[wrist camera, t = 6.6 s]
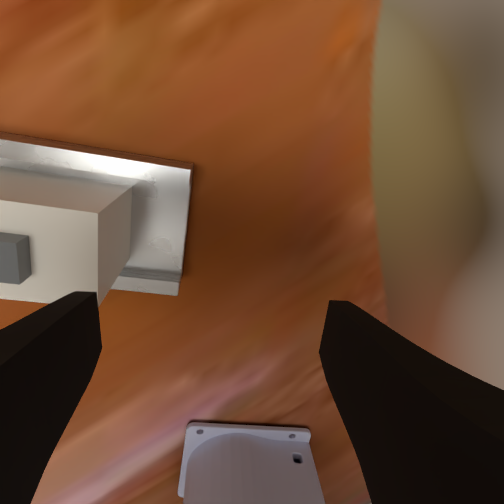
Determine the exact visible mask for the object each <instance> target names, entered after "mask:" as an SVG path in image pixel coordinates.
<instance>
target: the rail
mask: <svg viewBox="0 0 504 504" xmlns="http://www.w3.org/2000/svg"><path fill="white" fill-rule="evenodd" d="M0 166H3V167H10V168H16V169H23V170H30V171H36V172H43V173H50V174H56V175H63V176H70V177H76V178H83V179H89V180H96V181H103V182H109V183H116V184H123V185H129V186H132V207H131V232H130V257H129V260H128V262H127V263H126V265H125V266H124V268H123V270H122V271H121V273H120V274H119V276H118V277H117V279H116V280H115V282H114V284H113V285H112V287H111V288H110V289H118V290H128V291H137V292H147V293H156V294H166V295H175V296H178V292H179V288H180V283H181V279H182V272H183V263H184V254H185V244H186V235H187V225H188V216H189V207H190V197H191V188H192V178H193V169H194V163H188V162H182V161H176V160H169V159H163V158H157V157H151V156H145V155H139V154H133V153H127V152H121V151H115V150H109V149H102V148H96V147H90V146H84V145H78V144H72V143H66V142H60V141H54V140H48V139H42V138H35V137H29V136H23V135H17V134H11V133H5V132H0Z"/></svg>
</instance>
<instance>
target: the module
mask: <svg viewBox="0 0 504 504" xmlns="http://www.w3.org/2000/svg"><path fill="white" fill-rule="evenodd" d="M131 207H132V186H129V185H123V184H116V183H109V182H103V181H96V180H89V179H83V178H76V177H70V176H63V175H56V174H50V173H43V172H36V171H30V170H23V169H16V168H10V167H3V166H0V299H9V300H20V301H30V302H40V303H52V302H54V301H56V300H58V299H60V298H61V297H63V296H65V295H68V294H70V293H72V292H74V291H86V292H97V301H98V307H99V305H100V304H101V302H102V301H103V299H104V298H105V296H106V295H107V293H108V291H109V290H110V288H111V287H112V285H113V284H114V282H115V280H116V279H117V277H118V276H119V274H120V273H121V271H122V270H123V268H124V266H125V265H126V263H127V262H128V260H129V257H130V232H131Z"/></svg>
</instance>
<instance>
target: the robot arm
mask: <svg viewBox="0 0 504 504" xmlns="http://www.w3.org/2000/svg"><path fill="white" fill-rule="evenodd" d="M101 350H102V342H101V332H100V321H99V311H98V301H97V292H86V291H74V292H72V293H70V294H68V295H65V296H63V297H61V298H60V299H58V300H56V301H54V302H52V303H50V304H48V305H46V306H45V307H43V308H41V309H39V310H37V311H35V312H33V313H32V314H30V315H28V316H26V317H24V318H22V319H20V320H19V321H17V322H15V323H13V324H11V325H9V326H7V327H5V328H3V329H1V330H0V504H31V501H32V499H33V496H34V494H35V492H36V489H37V487H38V484H39V482H40V479H41V477H42V474H43V472H44V470H45V468H46V466H47V463H48V461H49V459H50V457H51V455H52V453H53V451H54V449H55V447H56V445H57V443H58V441H59V439H60V438H61V436H62V434H63V432H64V430H65V428H66V426H67V424H68V422H69V420H70V419H71V417H72V415H73V413H74V411H75V409H76V407H77V405H78V403H79V401H80V399H81V397H82V395H83V394H84V392H85V390H86V388H87V386H88V384H89V382H90V380H91V378H92V375H93V372H94V370H95V367H96V364H97V361H98V358H99V356H100V353H101ZM319 354H320V358H321V362H322V367H323V370H324V374H325V378H326V381H327V383H328V386H329V388H330V391H331V393H332V396H333V398H334V401H335V403H336V406H337V408H338V410H339V413H340V415H341V418H342V420H343V423H344V425H345V427H346V430H347V432H348V435H349V437H350V439H351V442H352V444H353V447H354V449H355V452H356V455H357V457H358V460H359V463H360V466H361V469H362V472H363V476H364V479H365V482H366V485H367V489H368V492H369V495H370V499H371V502H372V504H504V390H502V389H499V388H497V387H495V386H493V385H491V384H488V383H486V382H484V381H482V380H480V379H478V378H476V377H474V376H472V375H470V374H468V373H466V372H464V371H462V370H460V369H458V368H456V367H454V366H452V365H450V364H448V363H446V362H445V361H443V360H441V359H439V358H437V357H436V356H434V355H432V354H430V353H429V352H427V351H426V350H424V349H422V348H421V347H419V346H417V345H416V344H414V343H412V342H411V341H409V340H407V339H406V338H404V337H403V336H401V335H400V334H398V333H397V332H395V331H394V330H392V329H391V328H389V327H388V326H386V325H385V324H383V323H382V322H380V321H379V320H377V319H376V318H374V317H373V316H371V315H370V314H368V313H367V312H365V311H364V310H362V309H361V308H359V307H358V306H356V305H354V304H352V303H351V302H349V301H335V300H329V305H328V310H327V315H326V320H325V325H324V329H323V334H322V339H321V344H320V349H319ZM199 429H202V430H199ZM310 438H311V433H310V431H309V429H307V428H293V427H274V426H254V425H235V424H216V423H197V422H192V423H189V424H188V425H187V428H186V435H185V443H184V450H183V457H182V464H181V472H180V479H179V486H178V495H179V496H180V497H184V499H183V504H325V501H324V497H323V493H322V489H321V486H320V482H319V478H318V474H317V471H316V467H315V463H314V460H313V456H312V452H311V448H310V445H309V441H310Z"/></svg>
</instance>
